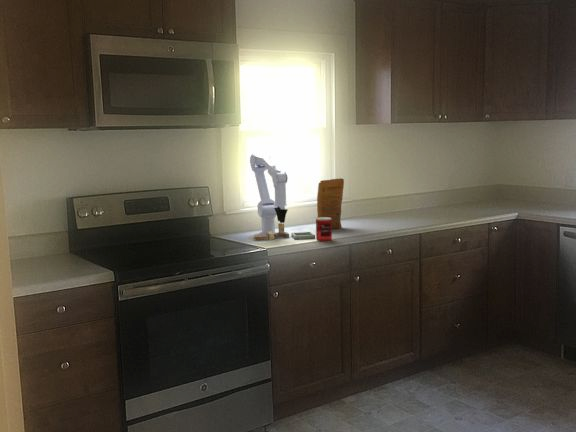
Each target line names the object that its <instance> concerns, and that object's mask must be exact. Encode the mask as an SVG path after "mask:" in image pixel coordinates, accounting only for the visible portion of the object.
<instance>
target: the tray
mask: <svg viewBox="0 0 576 432" xmlns="http://www.w3.org/2000/svg"><path fill="white" fill-rule="evenodd" d="M291 237H292V238H293V239H294V240H315V239H316V235H315V233H313V232H311V231H303V232H302V231H301V232H291Z"/></svg>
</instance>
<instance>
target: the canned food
mask: <svg viewBox="0 0 576 432" xmlns="http://www.w3.org/2000/svg"><path fill="white" fill-rule="evenodd" d="M315 229H316V230H315V234H316V235H315V239H316V241H318V242H330V241H332V239H333V231H332V230H333V229H332V219H331V218H329V217H320V218H317V217H316V218H315Z"/></svg>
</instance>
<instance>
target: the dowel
mask: <svg viewBox="0 0 576 432" xmlns="http://www.w3.org/2000/svg"><path fill="white" fill-rule="evenodd" d="M277 225H278V228H277V229H278V232H279V234H284V232H285V222H284V223H280V222H279V223H278V224H277Z"/></svg>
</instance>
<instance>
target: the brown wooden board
mask: <svg viewBox="0 0 576 432" xmlns="http://www.w3.org/2000/svg"><path fill="white" fill-rule="evenodd" d="M253 239H254V240H255V241H256V242H257V241H268V234H261V233H258V234H257V233H254V234H253Z"/></svg>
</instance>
